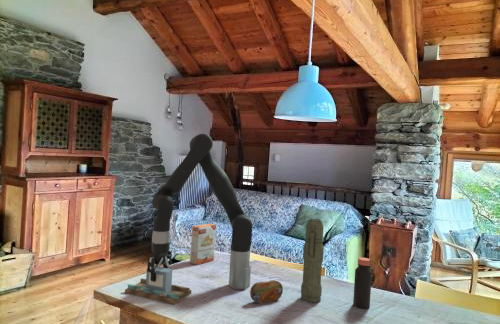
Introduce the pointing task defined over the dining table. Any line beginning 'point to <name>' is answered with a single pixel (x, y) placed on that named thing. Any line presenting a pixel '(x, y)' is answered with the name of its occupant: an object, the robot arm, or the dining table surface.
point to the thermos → (312, 262)
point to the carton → (160, 280)
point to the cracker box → (202, 243)
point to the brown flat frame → (158, 292)
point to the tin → (266, 291)
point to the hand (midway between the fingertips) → (159, 278)
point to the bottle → (362, 284)
